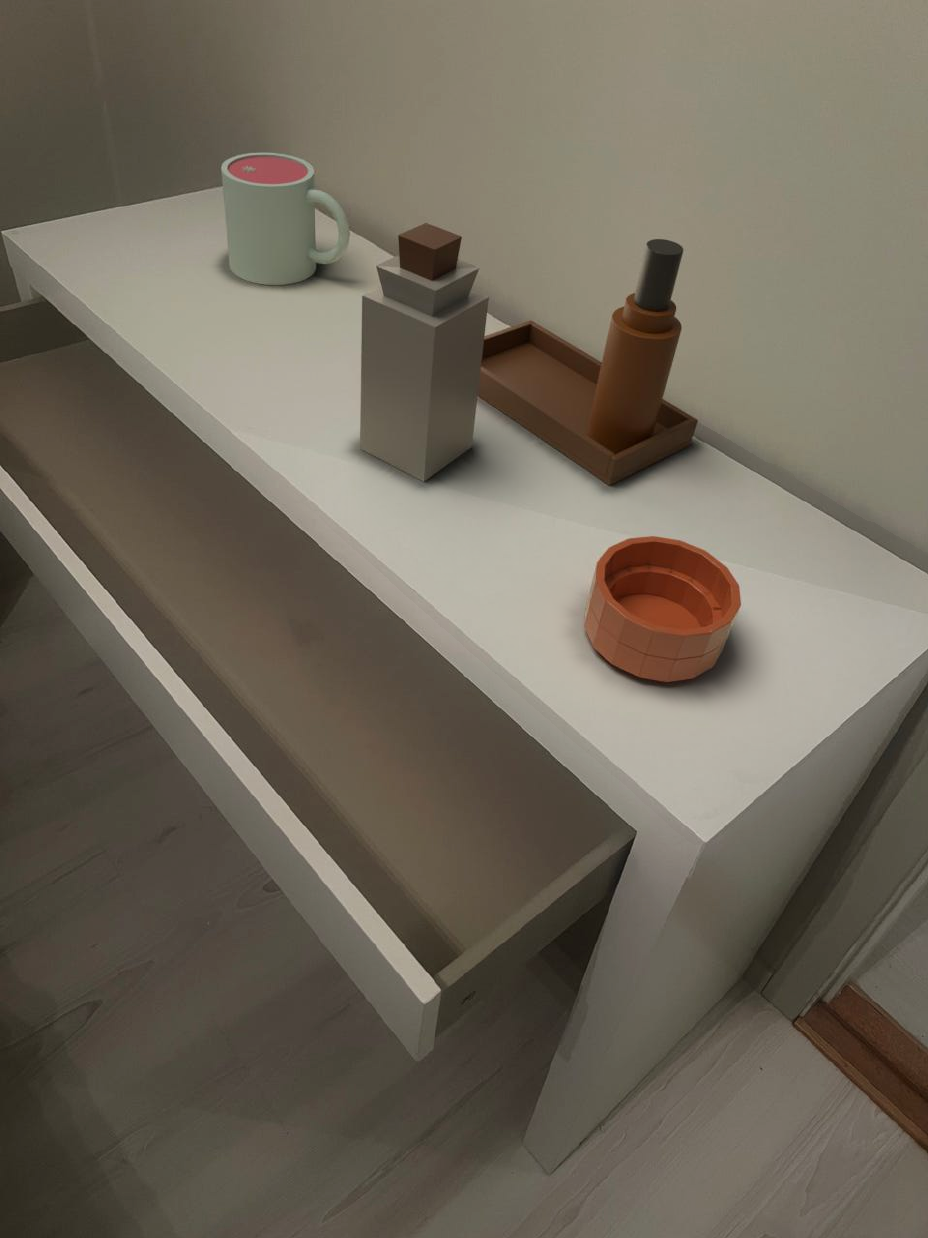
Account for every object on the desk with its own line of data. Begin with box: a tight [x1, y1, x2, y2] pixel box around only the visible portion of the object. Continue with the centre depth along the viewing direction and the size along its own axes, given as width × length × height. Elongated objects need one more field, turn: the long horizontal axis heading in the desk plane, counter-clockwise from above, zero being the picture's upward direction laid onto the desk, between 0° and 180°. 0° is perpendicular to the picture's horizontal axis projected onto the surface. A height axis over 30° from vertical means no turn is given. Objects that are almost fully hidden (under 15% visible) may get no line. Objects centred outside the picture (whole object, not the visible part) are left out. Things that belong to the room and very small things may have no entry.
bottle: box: [587, 238, 684, 455], centre depth 76 cm, size 6×6×17 cm
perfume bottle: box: [359, 222, 490, 482], centre depth 72 cm, size 7×7×18 cm
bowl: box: [583, 535, 742, 683], centre depth 63 cm, size 10×10×5 cm
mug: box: [220, 152, 351, 286], centre depth 97 cm, size 14×9×10 cm
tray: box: [478, 319, 699, 486], centre depth 84 cm, size 21×11×3 cm, turn 41°
